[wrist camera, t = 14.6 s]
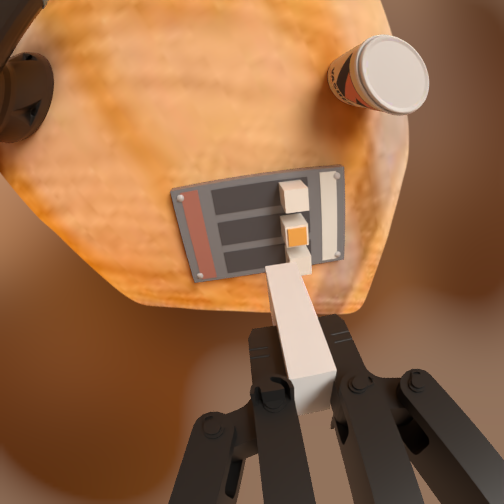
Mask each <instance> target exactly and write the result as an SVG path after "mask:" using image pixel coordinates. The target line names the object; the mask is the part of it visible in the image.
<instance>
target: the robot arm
mask: <svg viewBox="0 0 504 504" xmlns="http://www.w3.org/2000/svg"><path fill="white" fill-rule="evenodd" d="M47 2H48V0H0V142H5V143H13V142H17V141H20V140H23V139H25V138H27V137H29V136H30V135H32V134H33V133H34V132H35V131H36V130H37V128H38V127H39V126H40V124H41V123H42V121H43V120H44V118H45V116H46V114H47V111H48V109H49V106H50V103H51V99H52V94H53V85H54V80H53V72H52V68H51V65H50V63H49V62H48V60H47V59H46V58H45V57H44V56H42V55H40V54H37V53H30V52H26V53H20V54H17V55H15V56H12V57H10V56H11V54H12V53H13V51H14V49H15V48H16V46H17V44H18V43H19V41H20V40H21V38H22V36H23V35H24V33H25V32H26V30H27V29H28V28H29V26H30V25H31V23H32V22H33V20H34V19H35V18H36V16H37V15H38V14H39V12H40V11H41V10H42V9H44V8H45V6H46V5H47ZM265 270H266V278H267V286H268V294H269V303H270V310H271V315H272V320H273V325H274V326H270V327H264V328H257V329H252V331H251V334H250V336H249V338H248V341H249V352H250V362H251V373H252V383H253V385H252V386H251V390H250V396H251V399H250V400H249V402H248V403H247V404H246V405H245V406H244V407H242V408H240V409H238V410H236V411H233V412H231V413H228V414H223V413H220V412H209V413H206V414H203V415H202V416H201V417H199V418H198V419H197V420H196V422H195V424H194V426H193V429H192V432H191V435H190V438H189V441H188V444H187V447H186V451H185V454H184V457H183V460H182V463H181V466H180V469H179V472H178V475H177V478H176V482H175V485H174V488H173V491H172V494H171V497H170V500H169V504H236V502H237V498H238V493H239V489H240V484H241V479H242V475H243V470H244V465H245V460H246V458H248V457H250V456H253V455H255V454H257V453H258V455H259V464H260V473H261V481H262V491H263V498H264V504H316V502H315V497H314V492H313V487H312V482H311V477H310V472H309V467H308V462H307V457H306V453H305V448H304V443H303V438H302V433H301V429H300V424H299V419H298V415H303V414H309V413H313V412H318V411H323V410H327V409H330V404H331V406H332V410H333V417H332V421H331V429H334V428H335V431H336V435H337V439H338V442H339V446H340V450H341V454H342V457H343V461H344V465H345V469H346V473H347V477H348V480H349V484H350V488H351V493H352V497H353V501H354V504H424V501H423V498H422V495H421V492H420V489H419V486H418V483H417V480H416V477H415V474H414V471H413V468H412V465H411V463H410V461H411V462H412V464H413V465H414V467H415V468H416V469H417V471H418V472H419V474H420V475H421V476H422V478H423V479H424V480H425V482H426V483H427V485H428V486H429V487H430V489H431V490H432V491H433V493H434V494H435V496H436V497H437V498H438V500H439V501H440V503H441V504H504V460H503V459H502V457H501V456H500V455H499V454H498V452H497V451H496V450H495V449H494V447H493V446H492V445H491V444H490V442H489V441H488V440H487V439H486V438H485V436H484V435H483V434H482V433H481V432H480V430H479V429H478V428H477V427H476V426H475V424H474V423H473V422H472V421H471V420H470V419H469V417H468V416H467V415H466V414H465V413H464V412H463V411H462V410H461V408H460V407H459V406H458V405H457V404H456V403H455V401H454V400H453V399H452V398H451V397H450V396H449V395H448V394H447V392H445V390H444V389H443V388H442V387H441V386H440V385H439V384H438V383H437V381H436V380H435V379H434V378H433V377H432V376H431V375H430V374H429V373H427V372H426V371H424V370H421V369H411V370H409V371H407V372H406V373H405V374H404V375H403V376H402V378H380V377H377V376H375V375H373V374H372V373H370V372H369V371H368V370H367V369H366V367H365V366H364V363H363V361H362V359H361V357H360V354H359V352H358V350H357V348H356V345H355V343H354V341H353V340H352V337H351V335H350V332H349V331H348V328H347V326H346V324H345V322H344V320H342V319H341V318H340V317H339V316H338V315H337V314H332V315H328V316H322V317H317V315H316V313H315V310H314V307H313V305H312V302H311V300H310V297H309V294H308V292H307V289H306V287H305V284H304V282H303V279H302V277H301V274H300V272H299V269H298V267H297V264H296V262H290V263H284V264H277V265H271V266H265Z"/></svg>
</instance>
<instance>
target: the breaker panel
mask: <svg viewBox="0 0 504 504" xmlns="http://www.w3.org/2000/svg"><path fill="white" fill-rule="evenodd" d="M170 192H171V197H172V201H173V205H174V209H175V213H176V217H177V221H178V225H179V228H180V232H181V236H182V240H183V243H184V247H185V251H186V254H187V258H188V261H189V265H190V268H191V272H192V275H193V279H194V282H195V283H197V282H204V281H211V280H218V279H224V278H231V277H238V276H244V275H251V274H258V273H264V272H266V270H265V266H271V265H277V264H284V263H290V262H296V264H297V267H298V269H299V272H300V274H301V276H302V275H308V274H312V265H314V264H320V263H325V262H331V261H337V260H343V259H344V243H345V178H344V166H342V165H330V166H319V167H308V168H299V169H290V170H282V171H274V172H266V173H259V174H252V175H245V176H239V177H232V178H226V179H220V180H214V181H209V182H203V183H198V184H192V185H187V186H182V187H177V188H172V190H171V191H170ZM297 213H301V214H302V216H303V217H304V219H305V220H306V222H307V223H308V236H309V245H304V246H298V247H291V248H287V247H286V245H285V242H284V240H283V237H282V233H281V223H280V216H283V215H290V214H297Z"/></svg>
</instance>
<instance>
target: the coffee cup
mask: <svg viewBox="0 0 504 504" xmlns="http://www.w3.org/2000/svg"><path fill="white" fill-rule="evenodd" d="M328 83H329V86H330V89H331V90H332V92H333V93H334V95H335V96H336V97H337V98H338V99H339V100H341V101H342V102H344V103H346V104H349V105H353V106H357V107H362V108H367V109H372V110H377V111H382V112H385V113H388V114H392V115H407V114H410V113H412V112H414V111H415V110H417V109H418V108H419V107H420V106H421V105H422V104H423V102H424V101H425V99H426V97H427V94H428V90H429V77H428V73H427V69H426V66H425V64H424V62H423V60H422V58H421V57H420V55H419V54H418V53H417V51H416V50H415V49H414V48H413V47H412V46H411V45H409V44H408V43H406V42H405V41H403V40H401V39H399V38H397V37H394V36H390V35H376V36H373V37H370V38H368V39H367V40H365V41H364V42H363V43H362V44H360V45H358V46H356V47H354V48H353V49H351V50H349V51H348V52H346V53H345V54H343V55H341V56H340V57H338V58H337V59H336V60H334V61H333V62H332V64H331V65H330V67H329V70H328Z"/></svg>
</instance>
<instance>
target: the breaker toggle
mask: <svg viewBox="0 0 504 504" xmlns="http://www.w3.org/2000/svg"><path fill="white" fill-rule="evenodd" d="M280 223H281V233H282V237H283V240H284V242H285V245H286V247H287V248H291V247H298V246H304V245H309V236H308V223H307V222H306V220H305V219H304V217H303V216H302V214H301V213H297V214H290V215H283V216H280Z"/></svg>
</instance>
